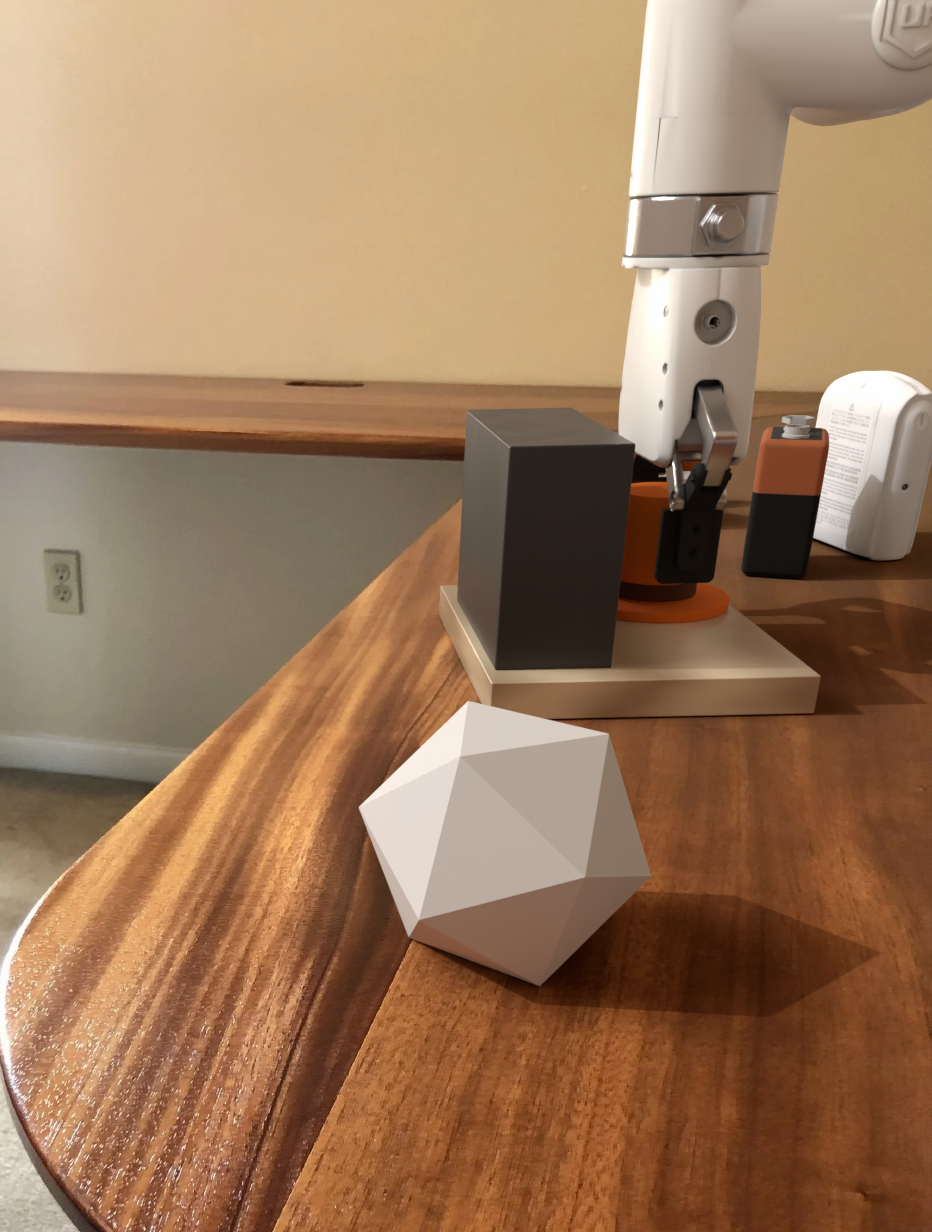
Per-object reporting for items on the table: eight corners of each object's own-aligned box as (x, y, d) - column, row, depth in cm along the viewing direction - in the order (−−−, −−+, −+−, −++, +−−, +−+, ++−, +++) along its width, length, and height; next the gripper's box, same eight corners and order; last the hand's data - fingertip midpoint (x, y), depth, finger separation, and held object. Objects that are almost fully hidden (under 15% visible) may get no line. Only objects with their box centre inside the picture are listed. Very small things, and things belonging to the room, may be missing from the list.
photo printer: (920, 559, 94) (960, 376, 88) (867, 563, 93) (903, 379, 88) (837, 531, 103) (868, 363, 97) (787, 534, 102) (816, 365, 96)
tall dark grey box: (557, 598, 79) (574, 406, 74) (614, 667, 66) (639, 443, 61) (456, 600, 79) (466, 409, 74) (494, 670, 66) (509, 446, 61)
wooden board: (694, 610, 83) (699, 579, 82) (814, 713, 66) (821, 675, 65) (438, 616, 83) (440, 585, 82) (488, 720, 66) (491, 682, 65)
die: (677, 958, 46) (605, 690, 47) (661, 953, 37) (575, 627, 39) (446, 1011, 48) (385, 757, 50) (382, 1018, 40) (311, 712, 41)
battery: (807, 558, 95) (832, 414, 90) (805, 580, 89) (833, 427, 85) (744, 555, 96) (766, 412, 92) (739, 576, 91) (762, 425, 86)
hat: (701, 583, 81) (716, 474, 78) (749, 621, 73) (768, 502, 70) (558, 586, 81) (567, 477, 78) (591, 625, 74) (603, 505, 70)
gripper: (833, 234, 61) (774, 597, 69) (716, 233, 76) (679, 530, 84) (673, 239, 61) (633, 601, 69) (588, 237, 76) (563, 533, 84)
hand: (658, 561), depth 76 cm, fingers open, 9 cm apart
